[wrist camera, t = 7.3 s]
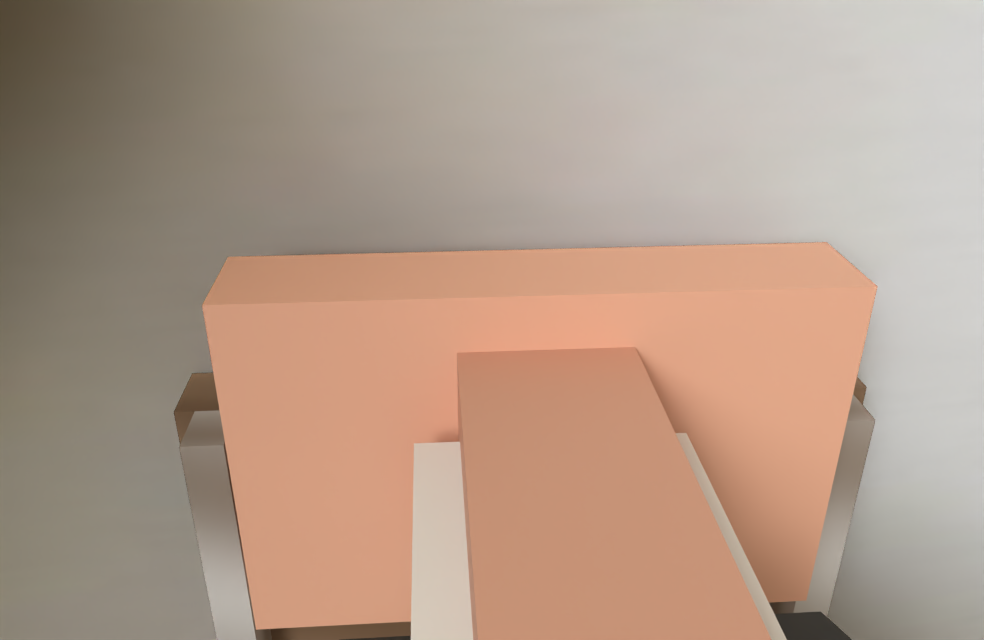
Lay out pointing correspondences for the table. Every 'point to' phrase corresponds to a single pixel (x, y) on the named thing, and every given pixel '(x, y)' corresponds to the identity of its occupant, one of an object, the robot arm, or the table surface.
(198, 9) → the table surface
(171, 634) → the table surface
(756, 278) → the stub
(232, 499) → the board
